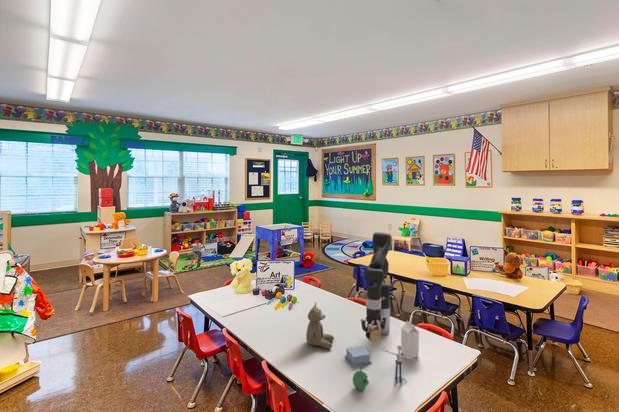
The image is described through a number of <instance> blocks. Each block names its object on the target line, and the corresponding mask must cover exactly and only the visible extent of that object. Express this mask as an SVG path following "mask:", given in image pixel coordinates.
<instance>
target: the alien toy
mask: <svg viewBox="0 0 619 412" xmlns="http://www.w3.org/2000/svg"><path fill="white" fill-rule="evenodd" d="M359 369H360V370H357V371H355V372H354V373H353V376H352V384H353V387H354V388H355V389H357V390H358V391H363V390H365V388H366V387H367V386H368V385H369V383H370V381H369V379H368V375H367V373H366V372H365V371H363V370H362V369H363V365H360V366H359Z"/></svg>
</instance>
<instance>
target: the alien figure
mask: <svg viewBox="0 0 619 412" xmlns="http://www.w3.org/2000/svg"><path fill="white" fill-rule="evenodd" d="M396 349H397V353H394V352H391V351H388V350H386V349H384V348H383V349H382V348H380V350H381V351H382V352H385V353H389V354H391V355H394V356H396V359H395V373H394V374H395V376H394V382H395V383H398V382H399V385H402V384H403V382H405V383H406V382H407V383H408V380H406V379H405V378H404V377H402V364H403V362H402V361H401V360H402V358H404V359H407V360H411V361H413V362H418V359H417V357H415V358H408V357H405V356H404V355H403V354H402V355H401V349H402V348H401V344H398V345H397V347H396ZM398 372H399V373H398ZM398 374H399V376H398Z"/></svg>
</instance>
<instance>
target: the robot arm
mask: <svg viewBox="0 0 619 412" xmlns="http://www.w3.org/2000/svg"><path fill="white" fill-rule="evenodd" d="M392 241H393V237H392V235H391V234H390V233H387V232H381V231H380V232H379V231H377V232H374V233H373V234H372V251H373V254H372V257H371V260H370V263H369V264H368V265H367V267H366V268H365V270H364V271H363V279H364V281H366V282H368V283H374V284H373V285H369V286H368V287H367V288H366V302H365V303H366V305H365V306H366V308H365V310H366V311H365V313H366V317H365V319H363V318H361V319H360V324H361V328H362V331H363V332H365V337H366V339H368V340H369V339H370V332H369V331H370V329H371V328H372V326H377V327H378V328H379V329H380V330H381V335H388V334H390V331H391V330H390V329H391V328H390V326H391V325H390V324H391V320H390V319H391V318H390V317H391V292H392V291H391V284H390V283H387V282H384V280H385V277H386V276H387V275H388V273H389V261H388V259H387V255H388V253H389V251H390V250H391V249H390V248H391V247H392V243H393V242H392ZM381 298H382V299H381Z"/></svg>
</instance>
